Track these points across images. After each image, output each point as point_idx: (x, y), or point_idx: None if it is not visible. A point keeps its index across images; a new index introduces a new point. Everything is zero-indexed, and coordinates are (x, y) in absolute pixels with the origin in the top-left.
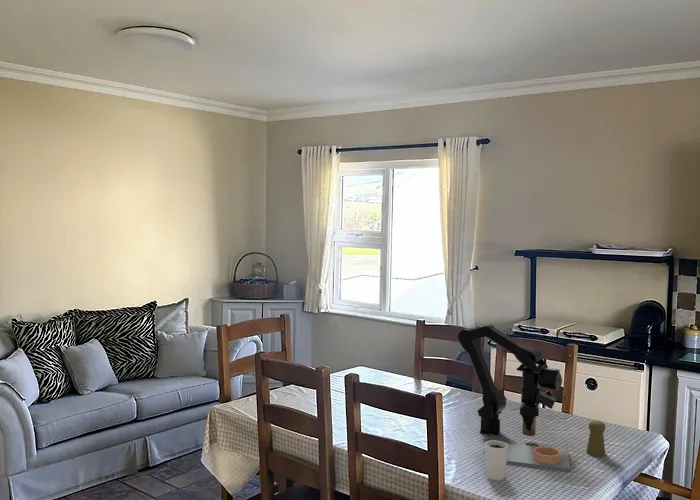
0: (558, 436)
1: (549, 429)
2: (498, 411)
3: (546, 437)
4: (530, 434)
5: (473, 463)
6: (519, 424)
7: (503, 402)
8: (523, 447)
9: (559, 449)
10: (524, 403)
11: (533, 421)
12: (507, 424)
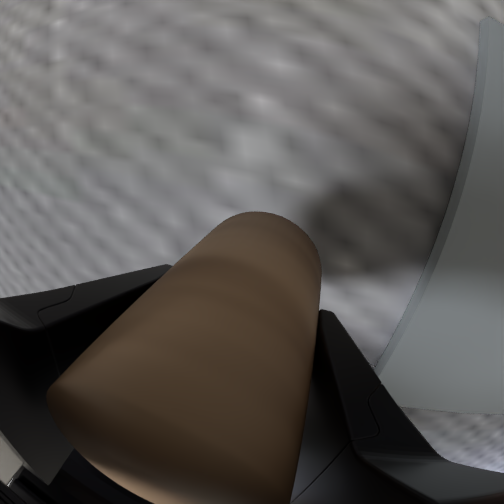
0: (132, 11)
1: (41, 74)
2: (136, 496)
3: (157, 86)
4: (320, 280)
5: (484, 467)
6: (21, 228)
7: (58, 499)
8: (446, 331)
9: (488, 68)
10: (7, 479)
11: (301, 344)
12: (40, 285)
